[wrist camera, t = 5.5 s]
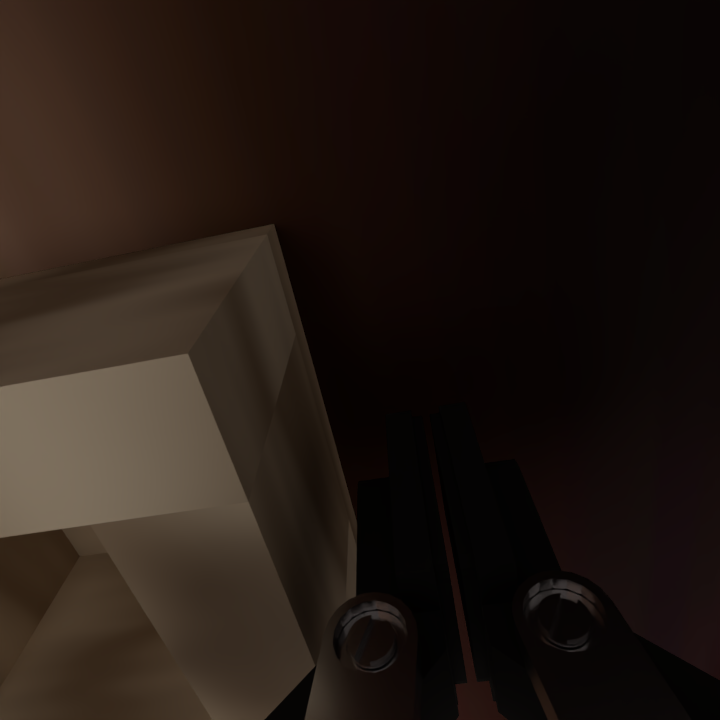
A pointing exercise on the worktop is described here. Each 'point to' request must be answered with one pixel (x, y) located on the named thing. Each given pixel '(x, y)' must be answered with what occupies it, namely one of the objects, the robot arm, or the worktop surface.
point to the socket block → (164, 487)
